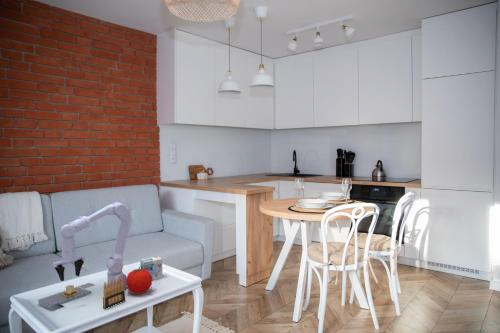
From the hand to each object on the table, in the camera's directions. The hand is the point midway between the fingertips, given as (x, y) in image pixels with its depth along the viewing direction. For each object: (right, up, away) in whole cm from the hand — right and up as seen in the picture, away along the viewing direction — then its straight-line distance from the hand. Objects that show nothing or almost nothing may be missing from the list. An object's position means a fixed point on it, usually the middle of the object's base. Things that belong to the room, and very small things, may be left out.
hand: (69, 278), depth 175 cm
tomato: (+31, -9, +7) cm, 33 cm away
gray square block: (+2, -10, +14) cm, 17 cm away
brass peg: (0, -10, +1) cm, 10 cm away
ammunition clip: (+24, -10, -7) cm, 27 cm away
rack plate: (-1, -10, -2) cm, 10 cm away
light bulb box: (+32, -9, +27) cm, 43 cm away
